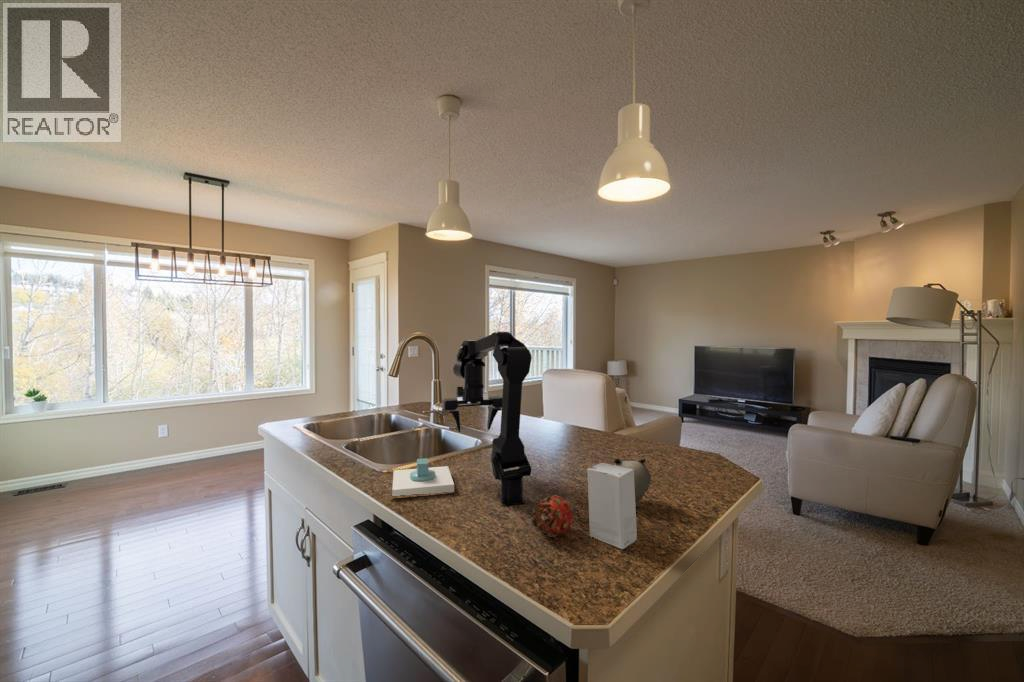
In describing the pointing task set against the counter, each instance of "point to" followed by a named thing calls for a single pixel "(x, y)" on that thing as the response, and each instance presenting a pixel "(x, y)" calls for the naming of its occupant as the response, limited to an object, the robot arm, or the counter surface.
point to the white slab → (422, 482)
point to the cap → (422, 471)
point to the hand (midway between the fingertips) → (473, 430)
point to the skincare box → (612, 504)
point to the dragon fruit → (552, 516)
